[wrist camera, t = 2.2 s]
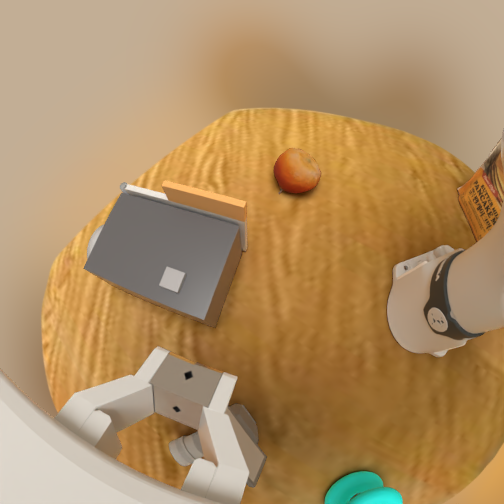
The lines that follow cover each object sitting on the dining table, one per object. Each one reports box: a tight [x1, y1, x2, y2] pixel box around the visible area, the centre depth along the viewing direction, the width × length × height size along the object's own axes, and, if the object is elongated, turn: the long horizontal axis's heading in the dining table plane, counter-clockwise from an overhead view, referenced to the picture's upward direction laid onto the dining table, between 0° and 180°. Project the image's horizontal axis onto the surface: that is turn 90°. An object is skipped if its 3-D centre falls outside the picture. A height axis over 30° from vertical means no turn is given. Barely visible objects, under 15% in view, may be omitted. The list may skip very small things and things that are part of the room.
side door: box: [120, 180, 247, 252], centre depth 37 cm, size 19×1×14 cm, turn 72°
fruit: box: [274, 148, 321, 194], centre depth 45 cm, size 8×8×8 cm
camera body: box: [84, 193, 242, 328], centre depth 37 cm, size 20×12×11 cm, turn 72°
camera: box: [169, 403, 267, 487], centre depth 26 cm, size 9×12×15 cm
